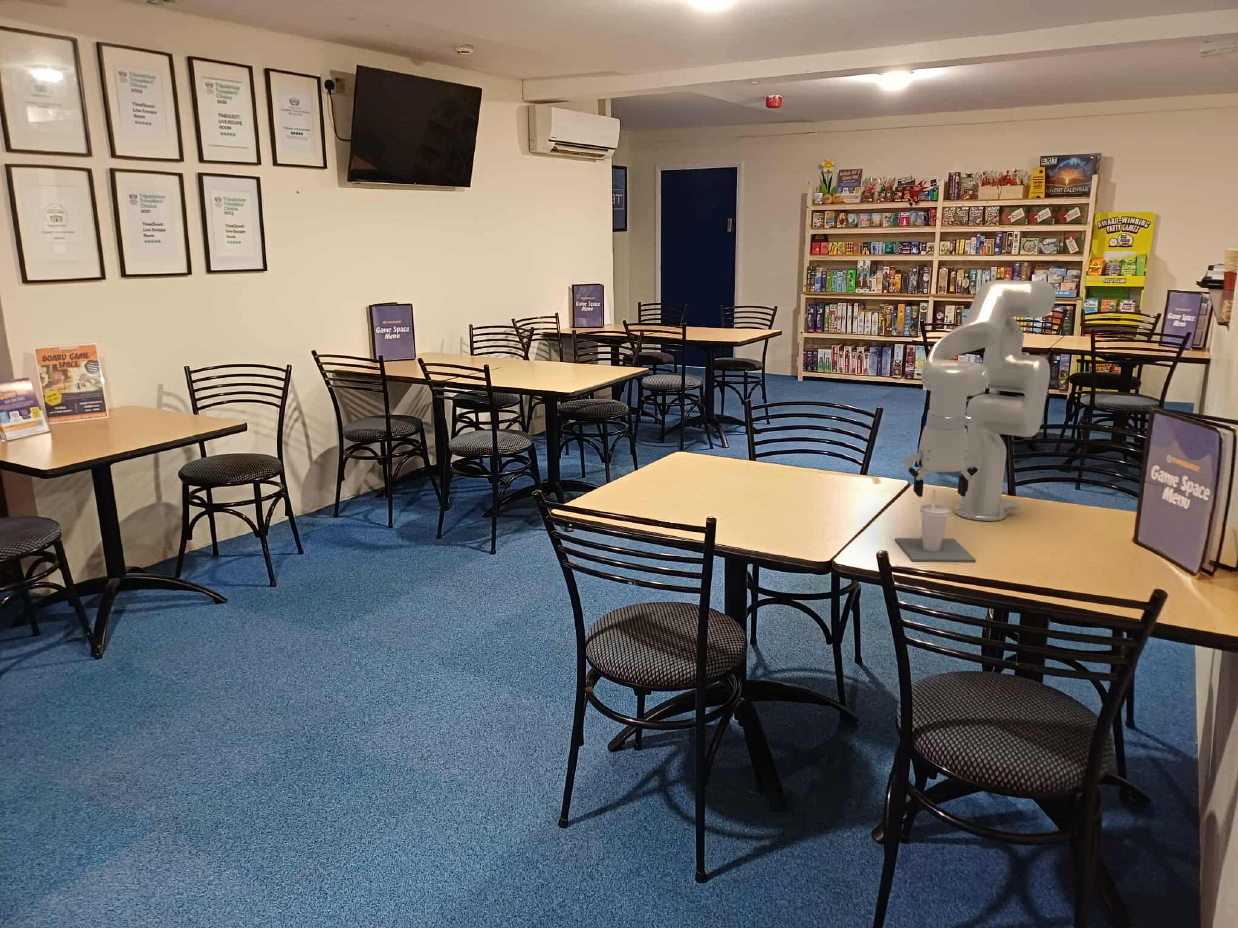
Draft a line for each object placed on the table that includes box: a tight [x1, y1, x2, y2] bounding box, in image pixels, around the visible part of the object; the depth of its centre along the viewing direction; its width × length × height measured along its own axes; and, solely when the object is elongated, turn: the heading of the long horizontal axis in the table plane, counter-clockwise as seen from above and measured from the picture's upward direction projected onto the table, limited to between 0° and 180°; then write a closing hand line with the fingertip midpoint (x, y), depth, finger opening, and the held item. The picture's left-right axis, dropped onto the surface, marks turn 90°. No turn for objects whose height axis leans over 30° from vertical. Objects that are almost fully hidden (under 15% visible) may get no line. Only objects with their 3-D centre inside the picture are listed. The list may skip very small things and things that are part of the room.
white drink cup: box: [919, 489, 950, 551], centre depth 198 cm, size 6×6×14 cm
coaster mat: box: [894, 537, 977, 563], centre depth 200 cm, size 14×14×1 cm
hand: (939, 495), depth 197 cm, fingers open, 9 cm apart
